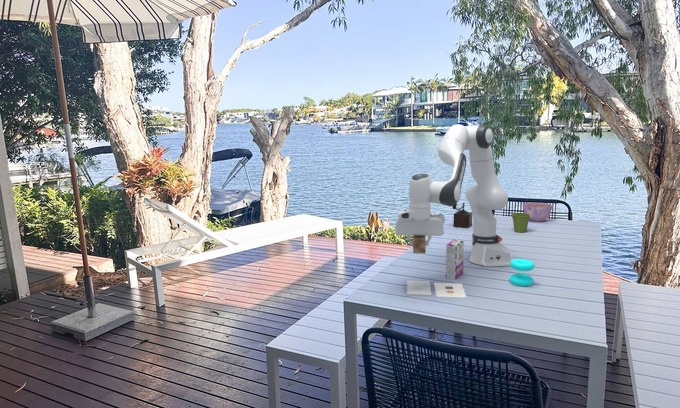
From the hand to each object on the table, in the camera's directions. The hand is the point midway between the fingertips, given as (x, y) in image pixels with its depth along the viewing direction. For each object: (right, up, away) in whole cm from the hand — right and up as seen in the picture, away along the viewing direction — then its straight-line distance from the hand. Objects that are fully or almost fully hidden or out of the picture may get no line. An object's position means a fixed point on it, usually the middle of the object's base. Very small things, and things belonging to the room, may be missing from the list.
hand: (419, 245), depth 187 cm
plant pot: (+84, -1, +100) cm, 131 cm away
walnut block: (0, -2, 0) cm, 2 cm away
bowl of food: (+108, +5, +131) cm, 170 cm away
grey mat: (0, -19, +3) cm, 20 cm away
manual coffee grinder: (+50, +2, +117) cm, 127 cm away
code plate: (+13, -19, +1) cm, 24 cm away
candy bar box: (+20, -16, +19) cm, 32 cm away
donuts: (+47, -18, +8) cm, 51 cm away
